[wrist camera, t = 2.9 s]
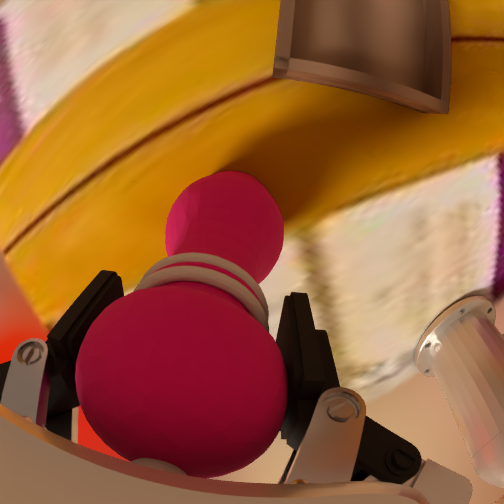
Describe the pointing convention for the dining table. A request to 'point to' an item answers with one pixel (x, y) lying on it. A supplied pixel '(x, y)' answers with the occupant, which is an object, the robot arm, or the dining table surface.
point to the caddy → (369, 48)
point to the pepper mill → (194, 340)
